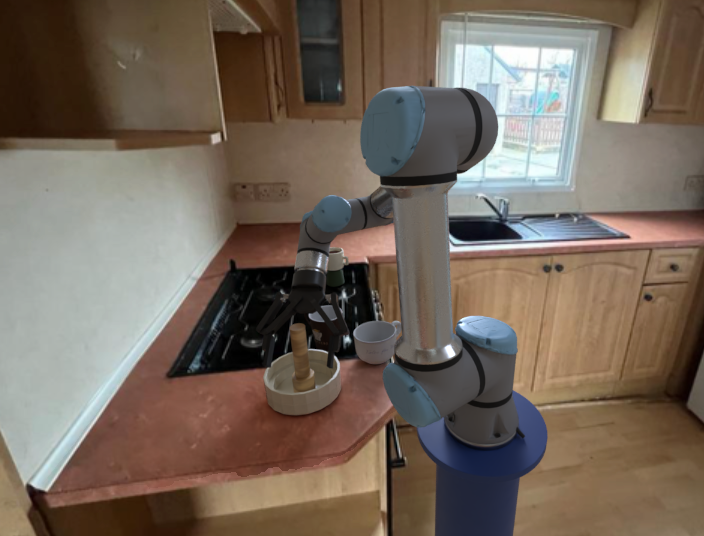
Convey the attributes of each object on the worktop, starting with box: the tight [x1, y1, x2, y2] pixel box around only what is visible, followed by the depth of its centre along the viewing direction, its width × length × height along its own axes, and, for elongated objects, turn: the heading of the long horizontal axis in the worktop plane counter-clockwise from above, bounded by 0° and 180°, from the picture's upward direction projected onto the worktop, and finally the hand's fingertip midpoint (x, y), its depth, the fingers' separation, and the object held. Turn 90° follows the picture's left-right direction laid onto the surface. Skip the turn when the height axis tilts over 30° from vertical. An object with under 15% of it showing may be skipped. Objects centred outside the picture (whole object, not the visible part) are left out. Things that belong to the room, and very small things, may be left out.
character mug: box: [326, 246, 349, 288], centre depth 144 cm, size 11×7×13 cm, turn 77°
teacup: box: [352, 320, 402, 365], centre depth 104 cm, size 14×11×8 cm
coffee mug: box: [304, 305, 343, 352], centre depth 109 cm, size 12×9×10 cm
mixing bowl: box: [262, 348, 342, 416], centre depth 91 cm, size 16×16×6 cm
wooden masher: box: [289, 322, 316, 393], centre depth 89 cm, size 5×5×16 cm
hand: (298, 367), depth 87 cm, fingers open, 13 cm apart
